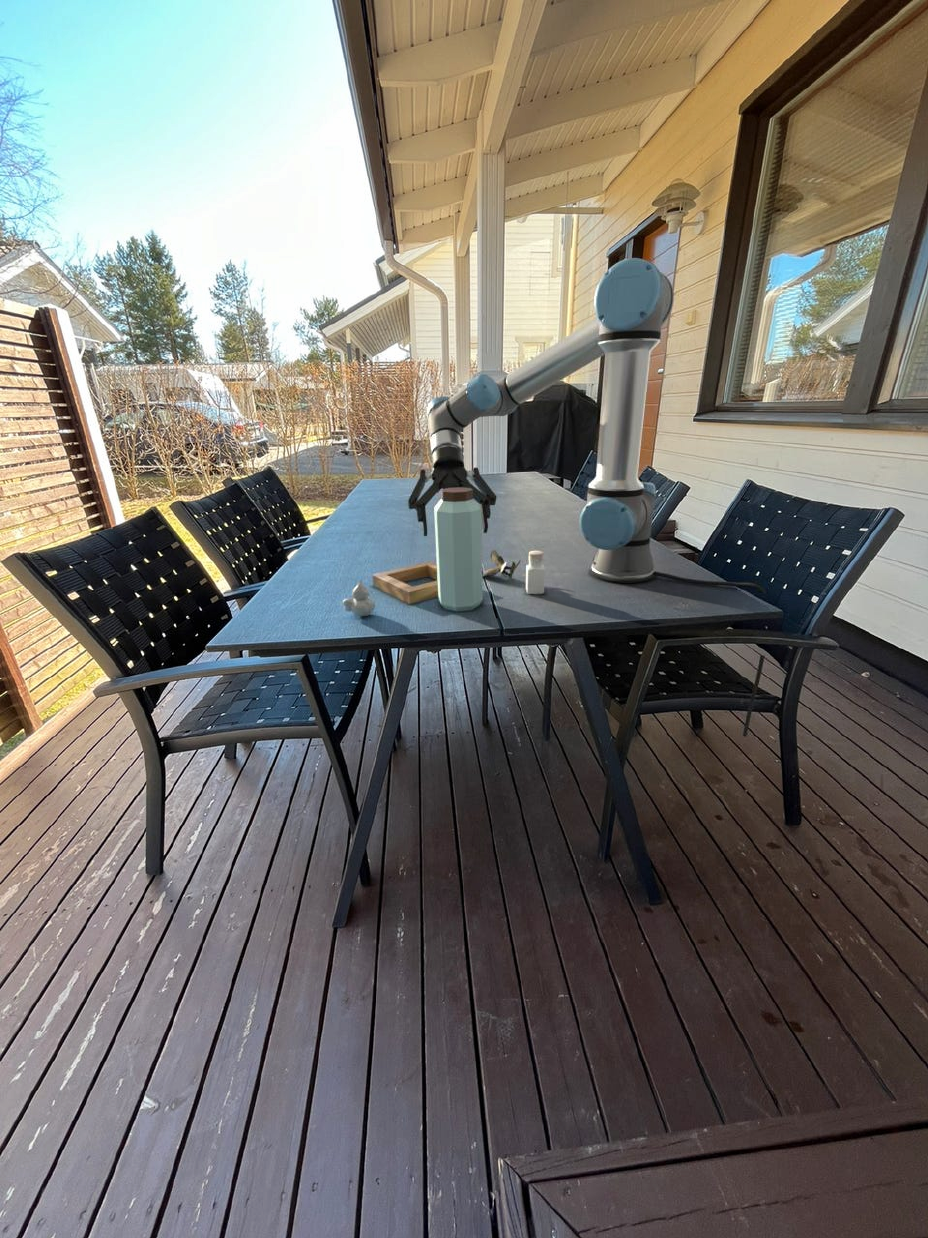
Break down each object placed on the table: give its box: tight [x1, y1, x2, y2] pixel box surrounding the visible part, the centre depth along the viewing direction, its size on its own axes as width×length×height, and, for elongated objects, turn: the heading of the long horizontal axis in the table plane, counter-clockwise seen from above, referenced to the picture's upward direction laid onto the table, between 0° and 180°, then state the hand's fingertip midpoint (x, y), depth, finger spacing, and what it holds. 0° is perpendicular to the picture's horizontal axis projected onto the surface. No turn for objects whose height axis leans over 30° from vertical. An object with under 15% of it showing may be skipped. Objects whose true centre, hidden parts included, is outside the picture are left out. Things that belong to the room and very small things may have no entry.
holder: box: [372, 561, 438, 605], centre depth 127 cm, size 17×17×3 cm
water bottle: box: [433, 487, 484, 612], centre depth 111 cm, size 10×10×25 cm
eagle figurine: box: [482, 549, 521, 581], centre depth 132 cm, size 8×7×9 cm
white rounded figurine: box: [342, 580, 376, 617], centre depth 110 cm, size 5×7×8 cm
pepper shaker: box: [525, 550, 546, 595], centre depth 121 cm, size 4×4×10 cm
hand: (455, 531), depth 117 cm, fingers open, 13 cm apart
